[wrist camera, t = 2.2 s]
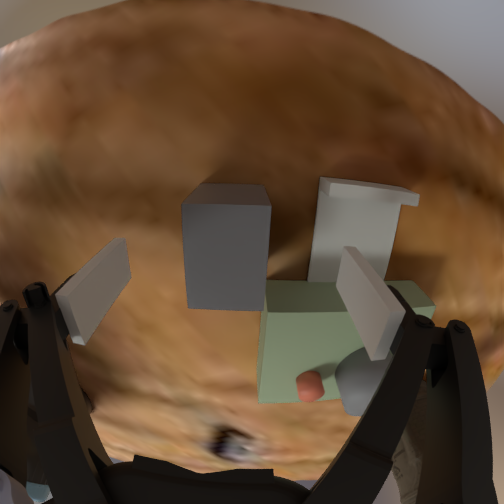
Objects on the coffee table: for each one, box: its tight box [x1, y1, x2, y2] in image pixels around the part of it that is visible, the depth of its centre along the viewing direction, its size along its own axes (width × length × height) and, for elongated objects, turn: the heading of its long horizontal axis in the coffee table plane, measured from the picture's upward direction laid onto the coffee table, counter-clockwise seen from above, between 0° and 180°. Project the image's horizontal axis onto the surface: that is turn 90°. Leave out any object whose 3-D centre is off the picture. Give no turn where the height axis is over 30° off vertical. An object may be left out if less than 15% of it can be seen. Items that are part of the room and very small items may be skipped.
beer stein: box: [391, 380, 427, 504], centre depth 26 cm, size 15×11×20 cm
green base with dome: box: [257, 177, 436, 416], centre depth 21 cm, size 16×22×9 cm
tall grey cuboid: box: [181, 183, 271, 311], centre depth 19 cm, size 5×7×7 cm
